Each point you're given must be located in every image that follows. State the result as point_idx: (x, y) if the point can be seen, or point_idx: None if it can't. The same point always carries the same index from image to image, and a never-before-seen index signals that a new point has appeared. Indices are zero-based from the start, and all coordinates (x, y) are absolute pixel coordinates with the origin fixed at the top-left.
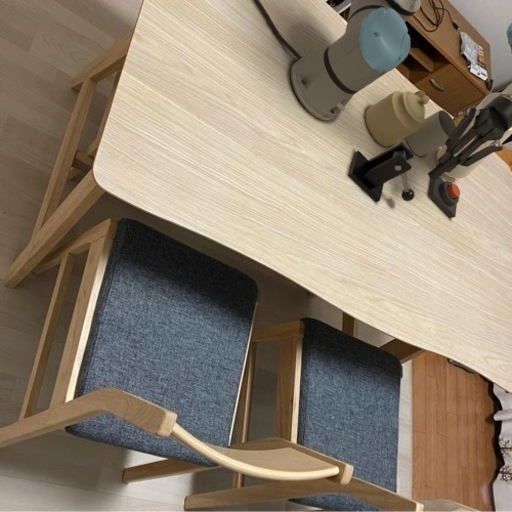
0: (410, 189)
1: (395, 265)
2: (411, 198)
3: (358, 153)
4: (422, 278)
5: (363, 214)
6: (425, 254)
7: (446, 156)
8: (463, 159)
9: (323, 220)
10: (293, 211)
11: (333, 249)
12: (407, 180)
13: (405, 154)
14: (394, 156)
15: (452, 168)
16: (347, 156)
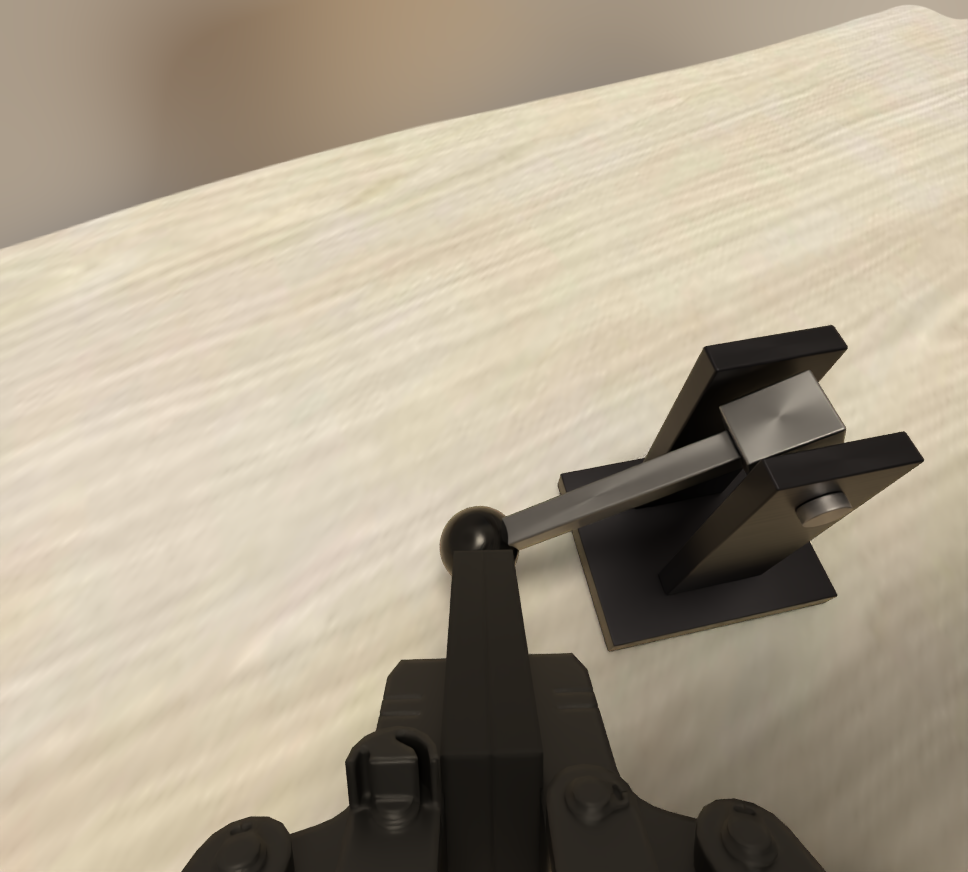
0: (502, 542)
1: (333, 334)
2: (458, 513)
3: (822, 576)
4: (154, 406)
5: (575, 374)
6: (146, 536)
7: (584, 720)
8: (367, 844)
9: (679, 225)
10: (760, 174)
11: (592, 190)
12: (579, 514)
13: (809, 432)
14: (826, 371)
15: (395, 707)
16: (823, 533)
